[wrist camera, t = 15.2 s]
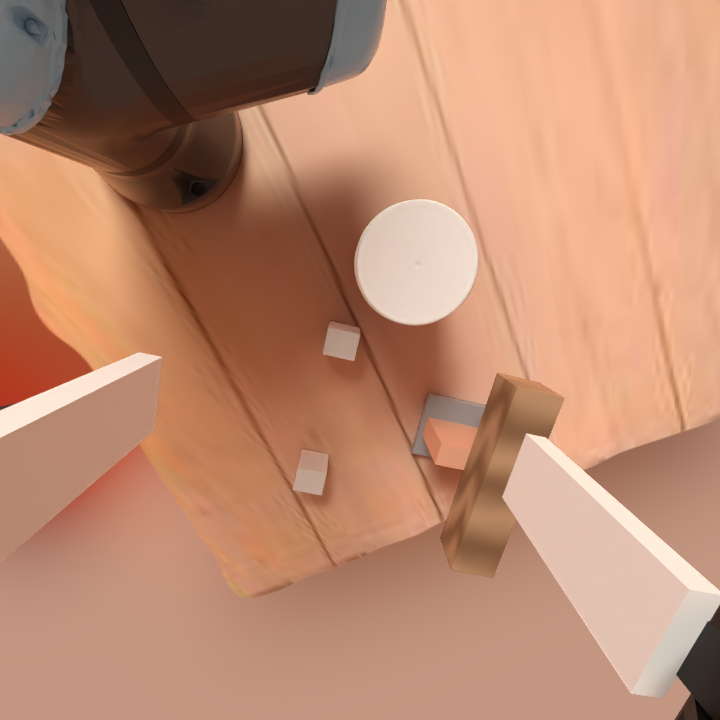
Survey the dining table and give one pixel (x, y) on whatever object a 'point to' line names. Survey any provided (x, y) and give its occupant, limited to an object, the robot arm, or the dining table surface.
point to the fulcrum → (447, 430)
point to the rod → (494, 473)
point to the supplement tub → (416, 262)
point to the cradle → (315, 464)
